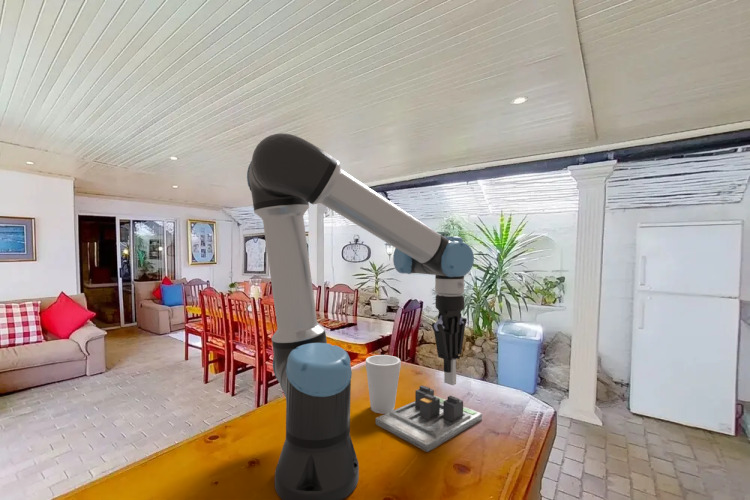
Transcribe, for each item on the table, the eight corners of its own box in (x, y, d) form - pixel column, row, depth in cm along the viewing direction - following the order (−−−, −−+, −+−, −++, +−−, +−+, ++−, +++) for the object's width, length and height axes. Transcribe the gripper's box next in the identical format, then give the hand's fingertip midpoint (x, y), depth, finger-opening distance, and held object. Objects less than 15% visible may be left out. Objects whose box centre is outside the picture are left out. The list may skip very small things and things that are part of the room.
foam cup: (400, 402, 97) (401, 355, 97) (399, 417, 88) (400, 366, 88) (367, 400, 98) (367, 354, 98) (362, 415, 89) (363, 364, 89)
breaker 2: (428, 420, 83) (428, 400, 83) (418, 416, 85) (419, 396, 85) (439, 415, 86) (439, 395, 86) (430, 411, 88) (430, 392, 88)
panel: (427, 452, 72) (427, 442, 72) (375, 424, 84) (375, 415, 84) (481, 419, 87) (482, 411, 87) (431, 399, 99) (431, 392, 99)
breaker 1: (424, 409, 89) (424, 390, 89) (415, 405, 91) (415, 387, 91) (433, 405, 91) (433, 387, 92) (424, 401, 94) (425, 383, 94)
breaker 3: (453, 422, 82) (453, 402, 82) (443, 417, 84) (443, 398, 84) (463, 417, 85) (463, 397, 85) (452, 412, 87) (452, 393, 87)
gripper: (447, 297, 84) (447, 394, 84) (475, 293, 93) (475, 380, 93) (423, 295, 90) (423, 385, 90) (452, 291, 99) (452, 373, 98)
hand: (450, 383), depth 91 cm, fingers closed
